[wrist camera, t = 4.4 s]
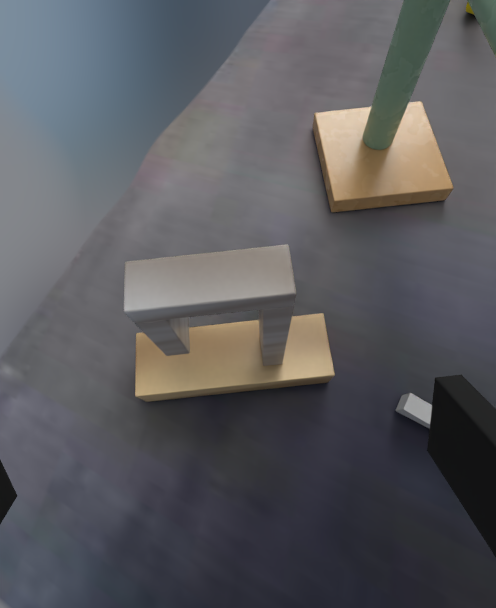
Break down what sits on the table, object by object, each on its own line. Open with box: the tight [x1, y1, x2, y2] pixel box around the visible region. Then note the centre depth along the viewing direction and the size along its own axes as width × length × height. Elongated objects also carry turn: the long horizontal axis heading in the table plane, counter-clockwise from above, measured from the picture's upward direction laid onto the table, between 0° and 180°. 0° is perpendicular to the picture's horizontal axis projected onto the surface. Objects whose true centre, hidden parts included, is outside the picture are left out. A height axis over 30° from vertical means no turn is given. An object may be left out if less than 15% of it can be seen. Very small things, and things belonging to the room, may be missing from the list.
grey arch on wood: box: [124, 245, 335, 402], centre depth 20 cm, size 4×12×13 cm, turn 96°
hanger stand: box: [313, 0, 496, 212], centre depth 22 cm, size 16×9×17 cm, turn 6°
